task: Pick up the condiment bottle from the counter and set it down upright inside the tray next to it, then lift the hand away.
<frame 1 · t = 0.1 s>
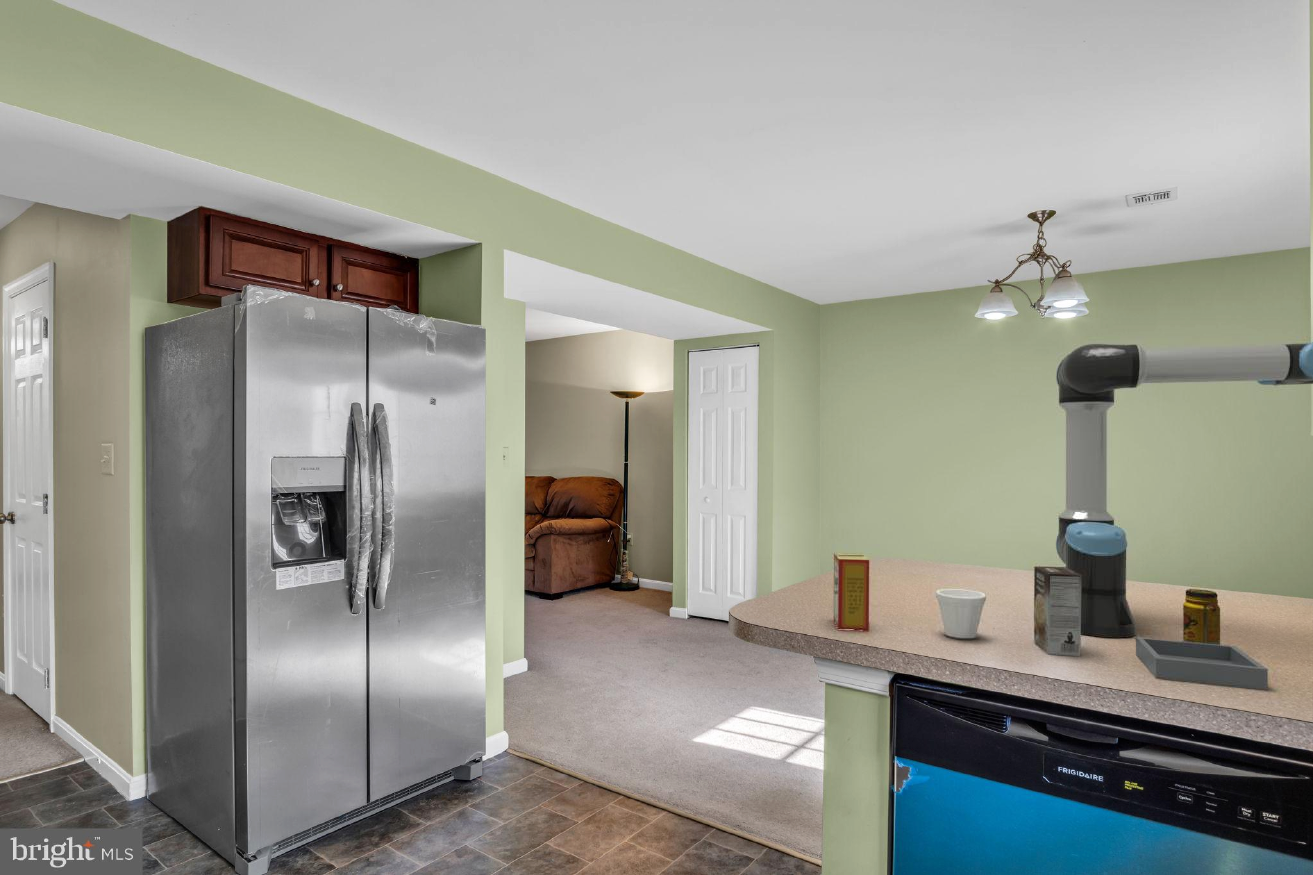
tray: (1196, 671, 136), on the counter
baking soda box: (850, 626, 168), on the counter
coffee box: (1056, 650, 149), on the counter
cup: (960, 637, 159), on the counter
condiment: (1205, 651, 150), on the counter
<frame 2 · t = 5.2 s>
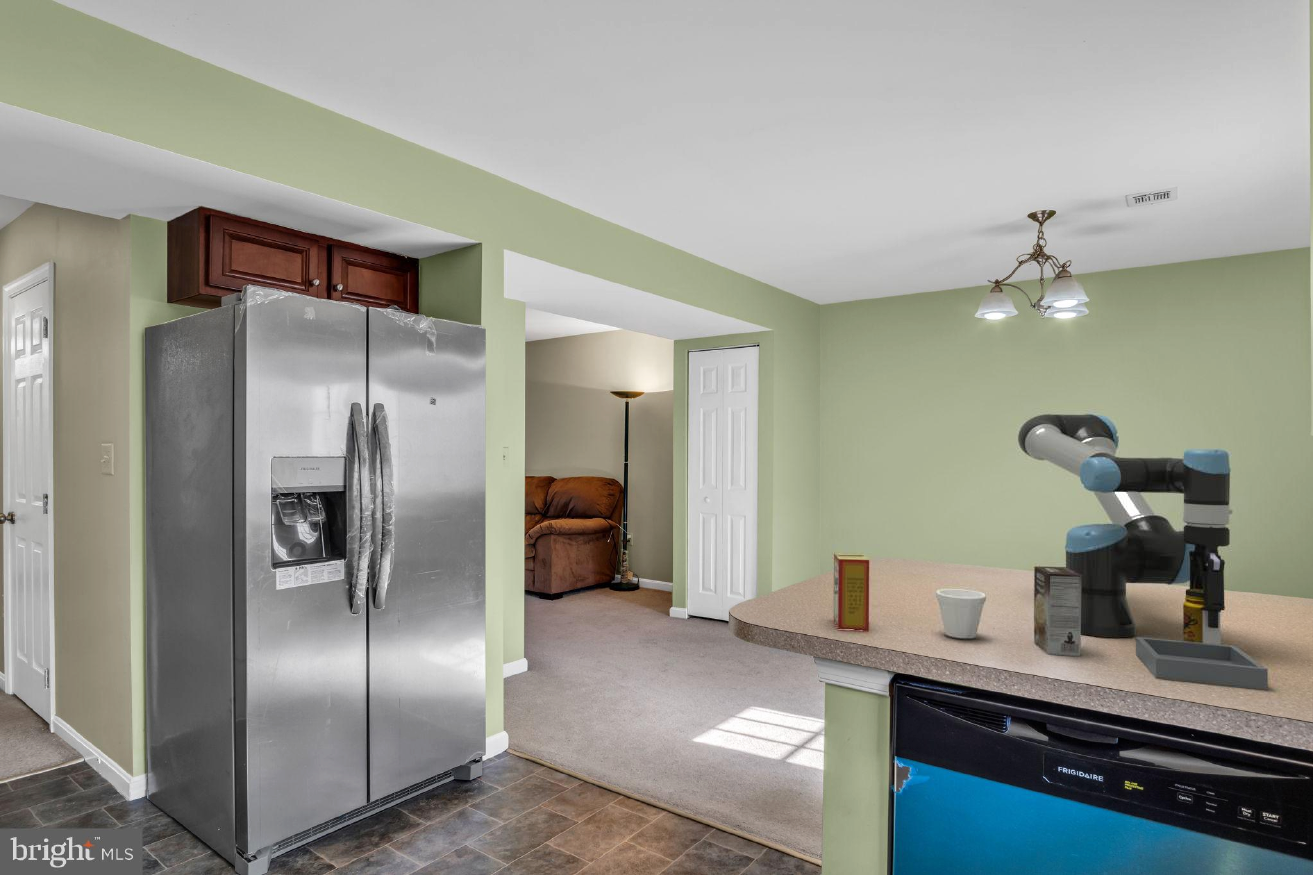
hand: (1206, 639, 150), 2 cm above the counter, tool pointing down, fingers closed on condiment, 6 cm apart
condiment: (1205, 650, 150), on the counter, touching gripper
everything else where it was.
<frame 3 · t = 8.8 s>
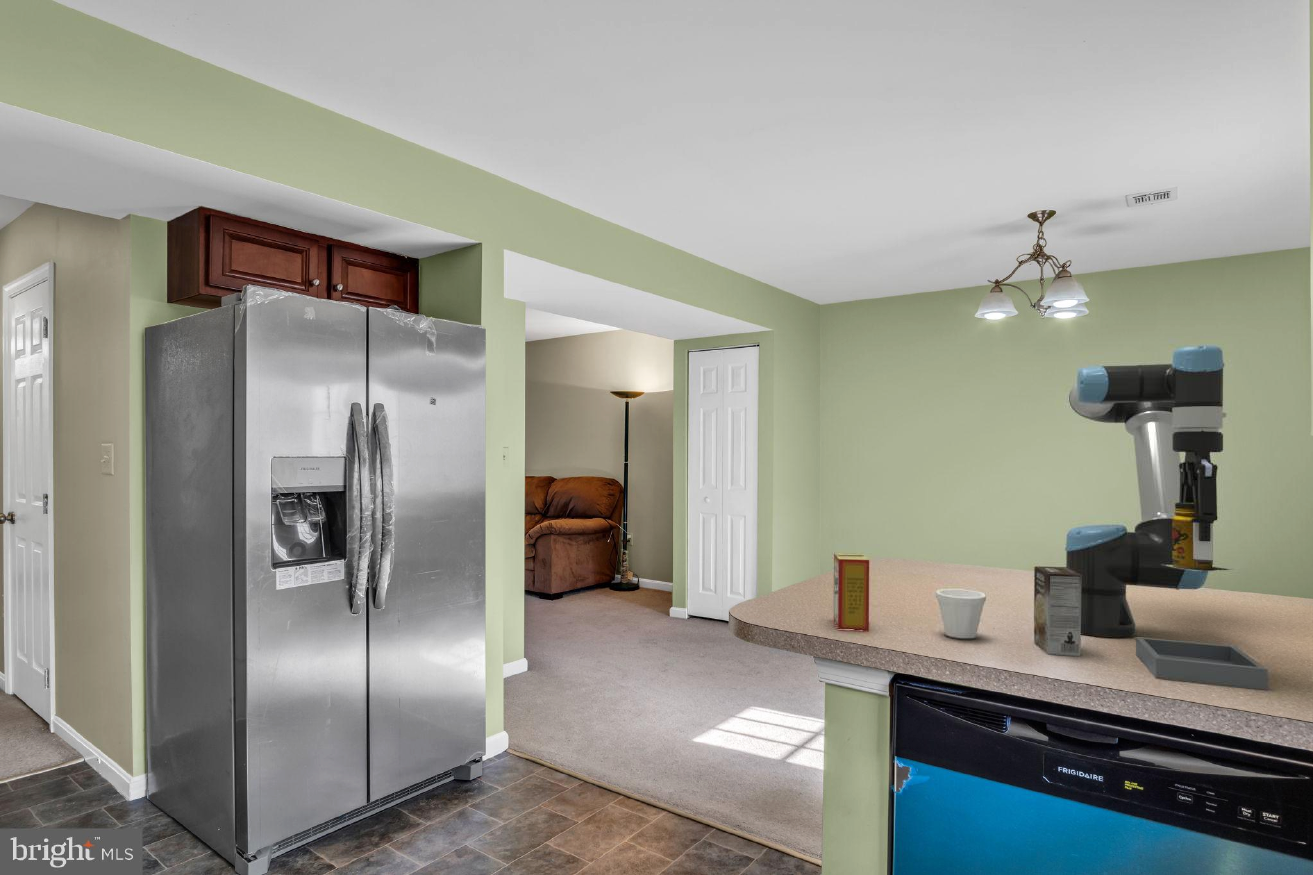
hand: (1197, 556, 136), 21 cm above the counter, tool pointing down, fingers closed on condiment, 6 cm apart
condiment: (1197, 569, 136), point 19 cm above the counter, touching gripper
everything else where it was.
when the fingers open (5 cm above the counter, at t = 12.6 s): condiment drops 2 cm, resting on tray.
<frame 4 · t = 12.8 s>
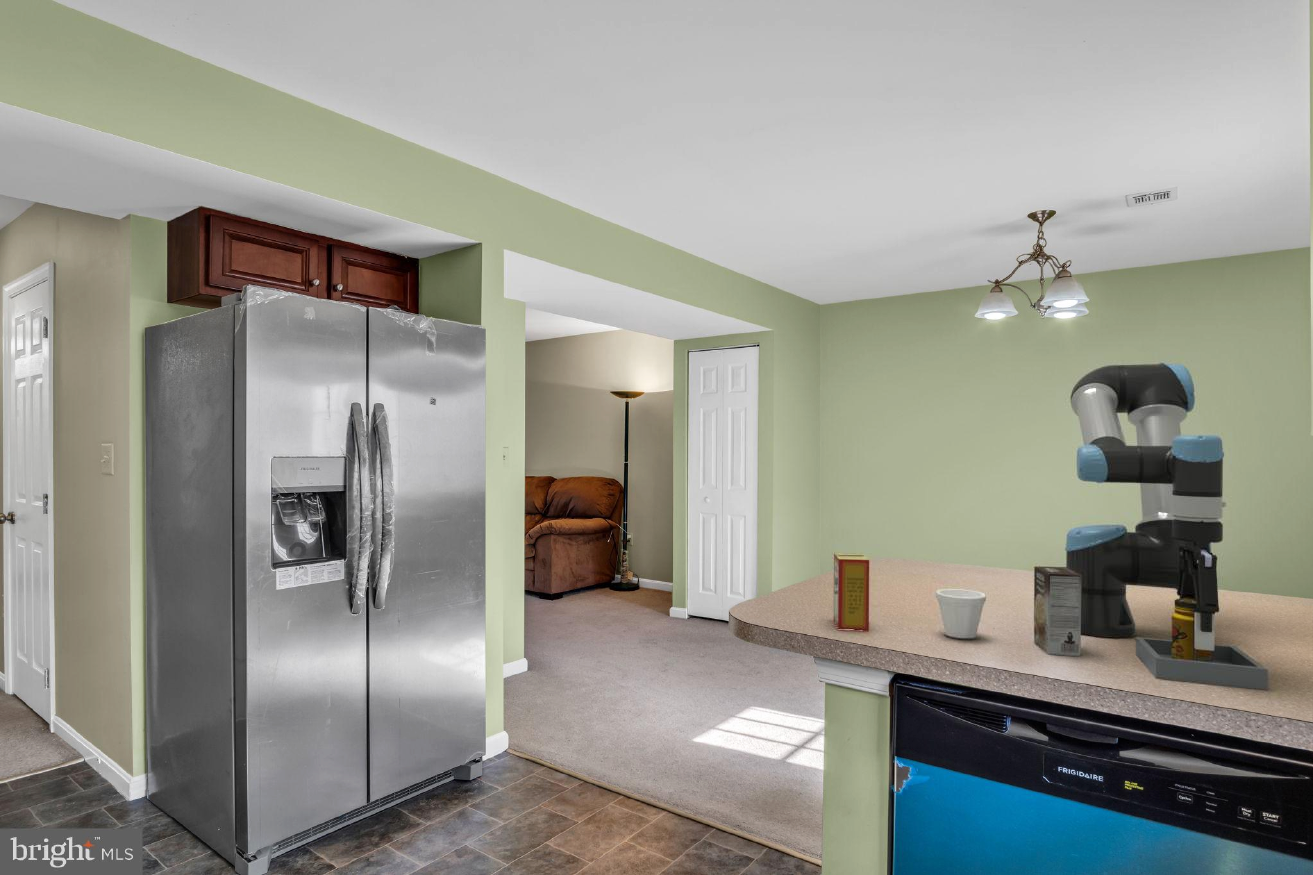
hand: (1196, 642, 136), 5 cm above the counter, tool pointing down, fingers open, 8 cm apart
condiment: (1196, 667, 136), point 1 cm above the counter, touching tray
everything else where it was.
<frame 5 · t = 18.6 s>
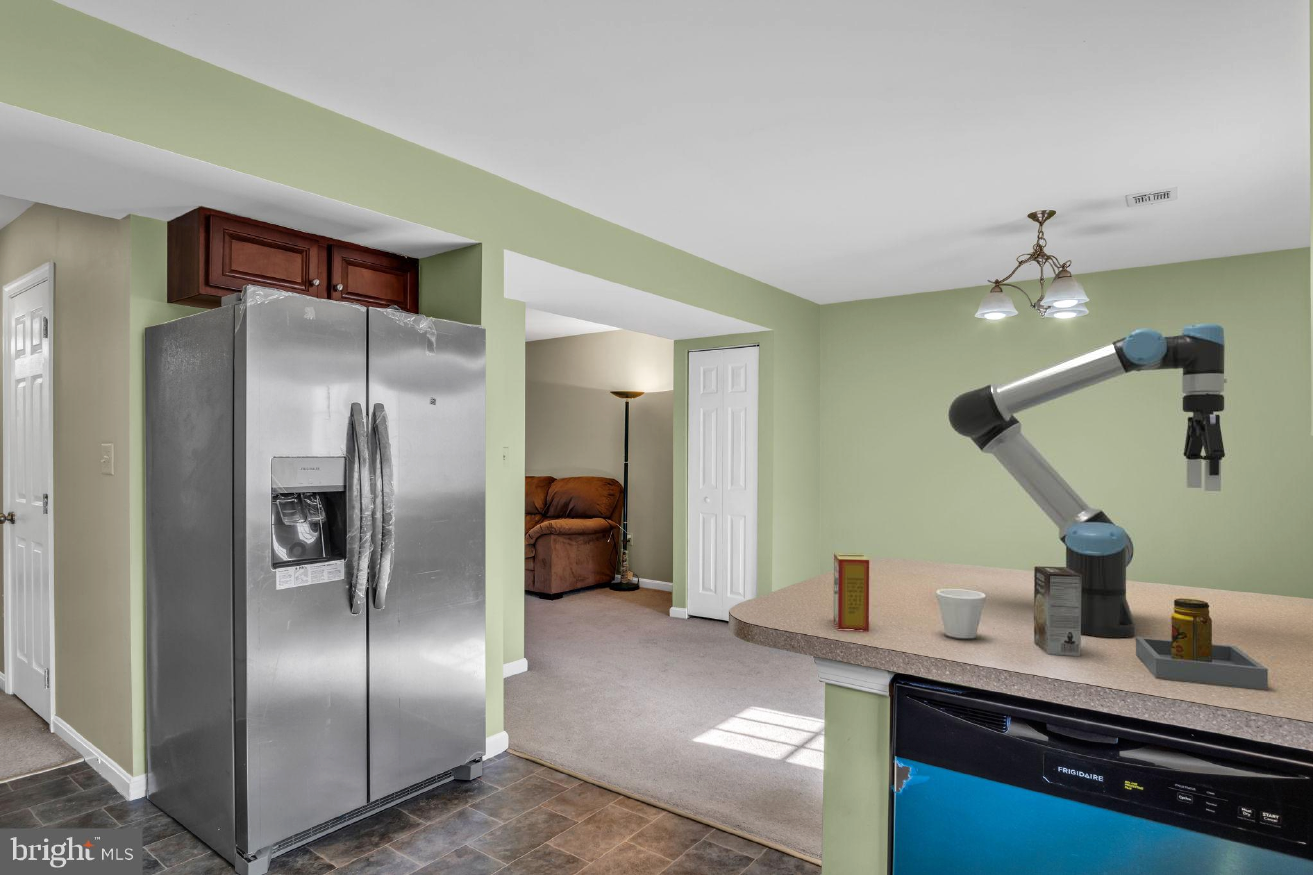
hand: (1202, 489, 165), 32 cm above the counter, tool pointing down, fingers open, 13 cm apart
nothing on the counter moved.
at the end: condiment inside the target area on the tray (0.4 cm from its centre), point 0.6 cm above the tray's base; condiment tilted 0°; the gripper is holding nothing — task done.
